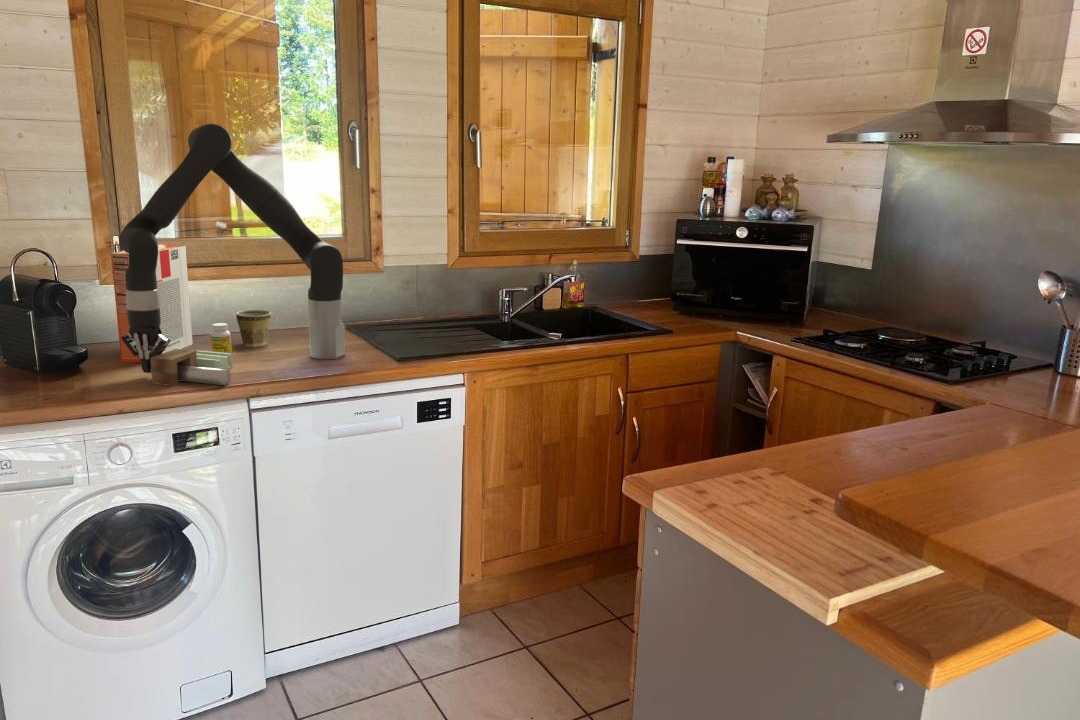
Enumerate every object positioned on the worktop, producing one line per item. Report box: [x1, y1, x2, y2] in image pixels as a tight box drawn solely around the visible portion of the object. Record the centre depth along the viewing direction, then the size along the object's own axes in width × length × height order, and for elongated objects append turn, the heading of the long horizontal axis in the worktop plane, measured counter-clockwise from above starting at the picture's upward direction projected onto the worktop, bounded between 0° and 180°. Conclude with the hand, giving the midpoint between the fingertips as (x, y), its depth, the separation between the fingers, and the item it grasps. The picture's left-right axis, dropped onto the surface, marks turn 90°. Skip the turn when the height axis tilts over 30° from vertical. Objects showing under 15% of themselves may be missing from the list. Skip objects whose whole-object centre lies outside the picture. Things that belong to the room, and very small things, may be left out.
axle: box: [150, 365, 232, 386], centre depth 201 cm, size 20×4×4 cm, turn 79°
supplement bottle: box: [210, 322, 233, 356], centre depth 224 cm, size 5×5×10 cm
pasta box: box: [110, 243, 193, 364], centre depth 223 cm, size 23×8×30 cm, turn 175°
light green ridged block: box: [196, 350, 233, 370], centre depth 212 cm, size 10×8×4 cm
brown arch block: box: [151, 349, 197, 386], centre depth 201 cm, size 6×10×7 cm, turn 169°
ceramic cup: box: [235, 309, 272, 348], centre depth 240 cm, size 13×10×10 cm
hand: (148, 372), depth 203 cm, fingers closed
